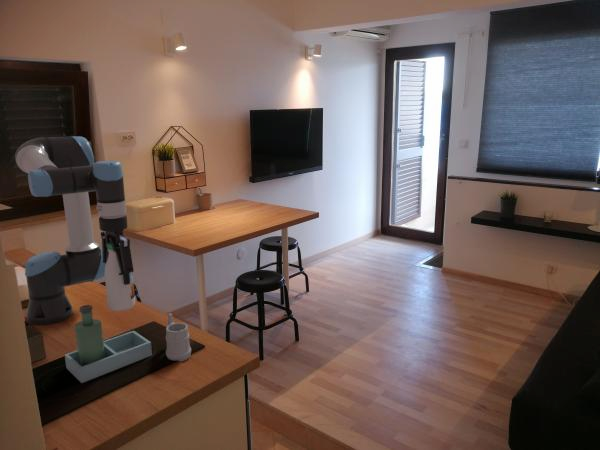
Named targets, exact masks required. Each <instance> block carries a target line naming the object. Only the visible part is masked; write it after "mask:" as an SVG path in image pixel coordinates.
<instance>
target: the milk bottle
mask: <svg viewBox="0 0 600 450" xmlns="http://www.w3.org/2000/svg"><path fill="white" fill-rule="evenodd" d="M107 248H108V251H109V256H108V260H107V263H106V265H105V275H104V281H105V293H106V302H107V307H108V309H109V310H110V311H113V312H115V311H116V312H121V311H123V312H124V311H127V310H130V309H133V307H134V306H135V305H136V296H135V295H136V293H135V286H134V285H135V284H134V277H133V272H131V273H130V281H131V292H132V293H131V294H127V295H124V296H122V294H121V284H120V275H119V273H121V271H120V267H119V263H118V260H117V256H116V253H115V252H114V251H113V248H112V244H111V243H108V244H107ZM116 248H120V247H116Z"/></svg>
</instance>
